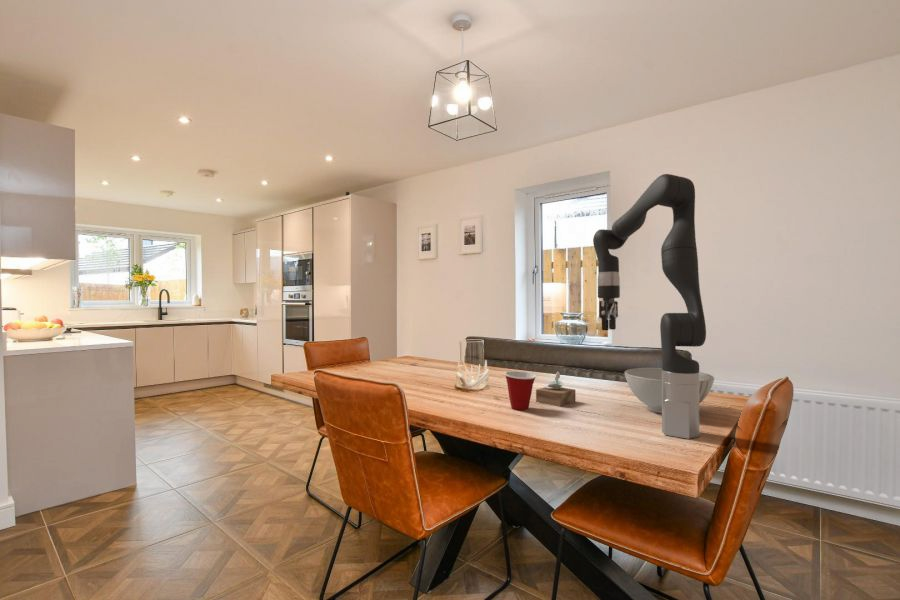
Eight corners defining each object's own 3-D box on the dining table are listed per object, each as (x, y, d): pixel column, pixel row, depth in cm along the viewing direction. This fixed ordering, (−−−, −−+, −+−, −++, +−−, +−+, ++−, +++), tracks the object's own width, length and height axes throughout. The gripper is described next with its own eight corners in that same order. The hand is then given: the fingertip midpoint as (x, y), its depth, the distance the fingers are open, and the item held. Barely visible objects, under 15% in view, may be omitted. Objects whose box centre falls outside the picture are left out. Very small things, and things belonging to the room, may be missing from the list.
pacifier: (544, 390, 162) (561, 390, 160) (543, 372, 162) (560, 373, 160) (547, 386, 169) (563, 387, 167) (546, 369, 169) (562, 370, 167)
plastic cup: (528, 414, 146) (528, 377, 146) (498, 409, 152) (498, 374, 152) (541, 407, 155) (541, 372, 155) (513, 403, 161) (513, 369, 161)
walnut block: (560, 408, 156) (560, 393, 156) (536, 403, 163) (536, 389, 163) (575, 403, 163) (575, 389, 162) (551, 399, 170) (551, 385, 170)
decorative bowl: (707, 426, 132) (707, 384, 132) (614, 412, 148) (614, 375, 148) (719, 408, 153) (719, 372, 153) (636, 397, 169) (636, 365, 169)
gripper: (613, 283, 155) (613, 331, 155) (624, 285, 166) (625, 329, 166) (591, 284, 159) (591, 330, 159) (604, 286, 171) (604, 328, 171)
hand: (608, 329), depth 163 cm, fingers open, 8 cm apart
